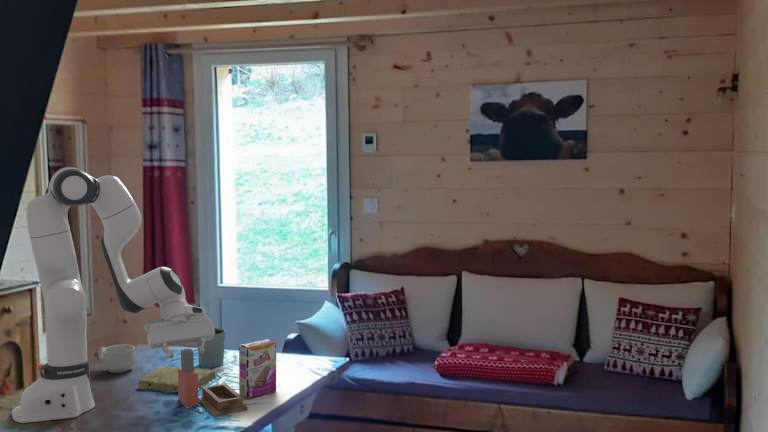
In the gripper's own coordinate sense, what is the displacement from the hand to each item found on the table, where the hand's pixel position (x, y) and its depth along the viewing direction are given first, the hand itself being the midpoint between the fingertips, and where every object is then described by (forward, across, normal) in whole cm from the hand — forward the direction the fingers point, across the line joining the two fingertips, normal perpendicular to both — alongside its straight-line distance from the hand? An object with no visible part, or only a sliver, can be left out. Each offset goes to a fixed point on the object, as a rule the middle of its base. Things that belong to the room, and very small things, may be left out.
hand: (186, 354), depth 232 cm
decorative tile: (-3, +2, +25) cm, 25 cm away
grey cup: (-15, +19, +36) cm, 43 cm away
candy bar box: (+14, +21, +7) cm, 26 cm away
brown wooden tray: (+17, +8, +4) cm, 19 cm away
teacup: (-22, -12, +43) cm, 50 cm away
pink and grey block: (+11, 0, +9) cm, 15 cm away
